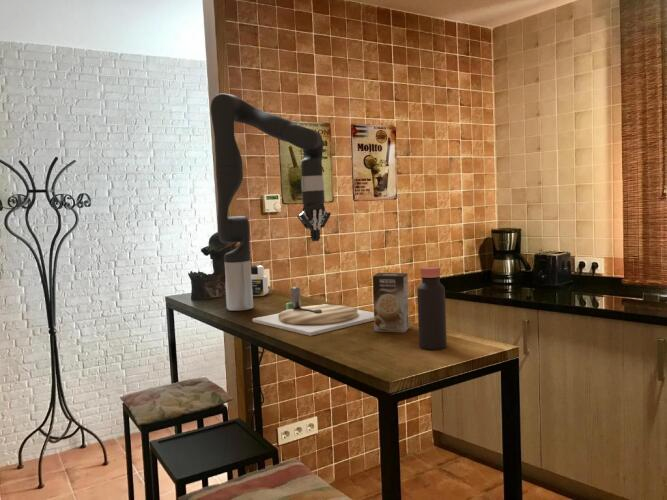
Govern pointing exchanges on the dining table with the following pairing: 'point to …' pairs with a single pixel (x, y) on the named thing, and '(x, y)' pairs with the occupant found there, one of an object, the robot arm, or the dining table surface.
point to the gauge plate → (313, 328)
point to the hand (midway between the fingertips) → (315, 240)
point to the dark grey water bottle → (431, 310)
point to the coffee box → (390, 302)
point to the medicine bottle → (259, 281)
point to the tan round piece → (315, 312)
